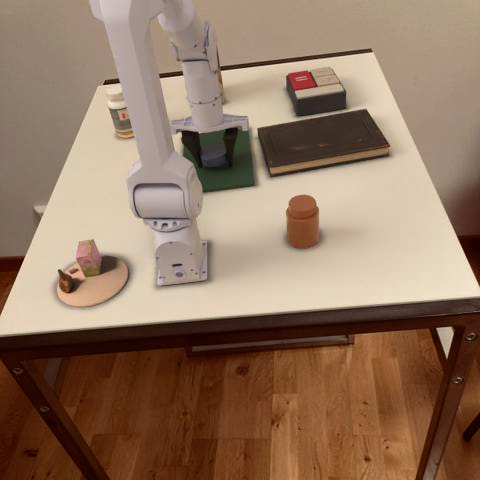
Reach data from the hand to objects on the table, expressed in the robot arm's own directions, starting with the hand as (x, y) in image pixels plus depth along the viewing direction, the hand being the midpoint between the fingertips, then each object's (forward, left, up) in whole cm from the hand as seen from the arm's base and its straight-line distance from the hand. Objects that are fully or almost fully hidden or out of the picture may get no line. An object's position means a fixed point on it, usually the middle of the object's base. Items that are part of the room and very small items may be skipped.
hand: (216, 164), depth 100 cm
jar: (-24, -14, -1) cm, 28 cm away
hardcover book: (+4, -21, -2) cm, 21 cm away
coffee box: (+32, +2, -2) cm, 32 cm away
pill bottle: (+21, +20, -2) cm, 29 cm away
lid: (0, 0, +3) cm, 3 cm away
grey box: (+25, -23, -2) cm, 34 cm away
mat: (+4, 0, -1) cm, 4 cm away
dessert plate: (-28, +21, -2) cm, 35 cm away
